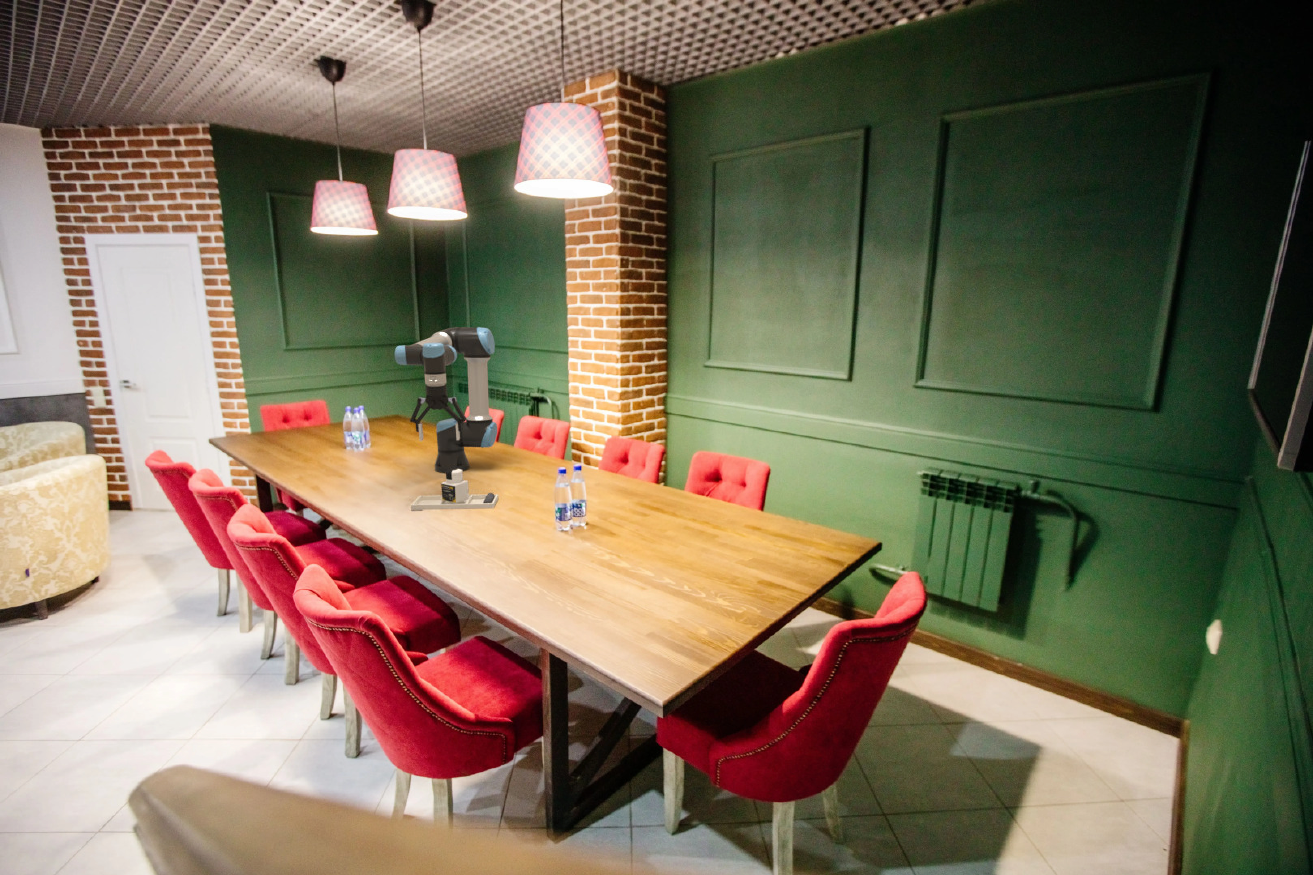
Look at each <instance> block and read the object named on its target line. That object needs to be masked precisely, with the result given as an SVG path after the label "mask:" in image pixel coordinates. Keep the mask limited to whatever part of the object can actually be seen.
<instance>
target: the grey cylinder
mask: <svg viewBox="0 0 1313 875" xmlns="http://www.w3.org/2000/svg"><path fill="white" fill-rule="evenodd" d="M486 495H487V496H486V498H485V500H484V502H483V503H492V502H493V500H494V498H495V495H494V493H493V492H488V493H486Z"/></svg>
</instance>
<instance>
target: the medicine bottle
mask: <svg viewBox="0 0 1313 875" xmlns="http://www.w3.org/2000/svg"><path fill="white" fill-rule="evenodd" d="M463 476H464V475H463V471H462V470H461V469H459V468H452V469H448V470H447V471H446V473H445V481H443V482H441V483H440V485H441V495H442V500H443V501H447V502H452V503H458V502H461V501H463V500H466V499H469V495H470V492H469V490H470V489H469V481H468V480H465V479H464V477H463Z"/></svg>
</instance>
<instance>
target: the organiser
mask: <svg viewBox="0 0 1313 875" xmlns="http://www.w3.org/2000/svg"><path fill="white" fill-rule="evenodd" d="M493 494H494V493H493ZM494 495H495V498H494V500H493V502H492V503H483V502H484V500H485V498H486V496H487V494H469V499H466V500H463V501H461V502H458V503H452V502H447V501H443V500H442V494H441V495H438V494H437V495H434V494H433V495H432V494H431V495H430V494H429V495H417V498H416V499H414V500H413V501H412V503H411V504H410V511H412V512H417V511H418V512H419V511H420V512H422V511H423V510H461V509H463V510H467V509H469V510H470V509H472V510H473V509H476V510H477V509H494V508H495V506H496V505H497V502H498V500H499V494H494Z"/></svg>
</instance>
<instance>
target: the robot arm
mask: <svg viewBox="0 0 1313 875" xmlns="http://www.w3.org/2000/svg"><path fill="white" fill-rule="evenodd" d="M495 348H496V344H495V338H494V336H493V333H492V331H491V330H490V329H489V328H488V327H480V326H478V327H474V326H473V327H469V326H465V327H460V326H455V327H449V328H446V329H443V330H440V331H437V332H435V333H433V334H432V335H431V336H430V337H429V338H426V339H423V340H420V341H418V342H416V343H413V344H410V345H405V344H404V345H398V346H396V348H394V349H395V350H394V360H395V362H396V363H397V364H398V365H401V366H423V370H424V382H425V383H424V384H425V398H424V397H422V396H419V397H418V398H417V402H416V405H415V406H416V407H415V409H414V411H413V412H412V415H411V418H410V419H409V422H410V423H413V424H415V431H416V433H418V436H419V438H418V439H419V442H422V441H423V440H424V429H423V422H422V420H423V419H424V418H425V416H427V413H428V412H429V411H430V410H434V411H436V410H443V409H444V411H445V412H447V413H448V415H449V416H450V417H452V418H447V419H443V420H440V421H438V422H437V423H436V431H435V432H436V433H435V434H436V442H437V443H436V444H437V445H436V446H437V455H436V459H435V463H434V470H435V472H438V473H445V474H446V471H447V470H448V469H452V468H459V469H461V470H462V472H464V471H467V470H468V469H469V468H470V462H469V460H468V457H467V455H466V452H465V448H481V449H483V448H491V447H493V446H494V444H495V443H496V440H497V434H498V425H497V422H495V421H493V417H492V415H491V414H490V407H489V405H490V404H489V403H490V402H489V379H488V377H489V376H488V375H489V374H488V361H490V359H491V358H492V357H491V355H493V354H494V353H495V351H496V350H495ZM458 354H463V359H464V360H465V361H466V362H467V383H468V412H469V415H467V416H466V415H465V414H464V412H463V410H462V409H461V407H460V405H459V403H458V401H457V397H456V396H453V397H448V388H447V385H446V384H447V374H446V366H450V365H452V364H453V363H454V362H456V360H457V357H458ZM449 402H450V404H452V406H453V408H454V409H455V411H456V412H455V411H454V410H453V409H452V408H451V407H450V405H448V403H449ZM424 403H426V404H427V406H426V408H425V409H424V410H423V411H422V412H421V414H420V415H419V416H418V414H419V412H420V410H421V407H422V405H423V404H424ZM417 416H418V417H417Z"/></svg>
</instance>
